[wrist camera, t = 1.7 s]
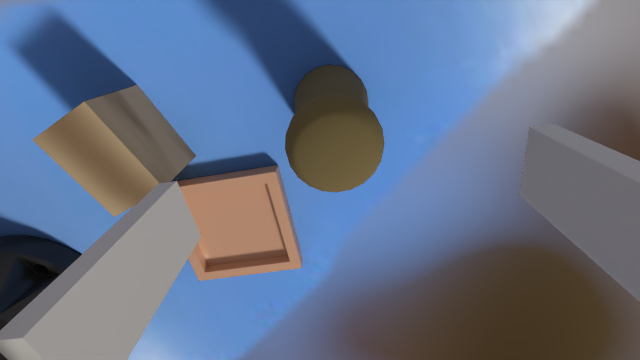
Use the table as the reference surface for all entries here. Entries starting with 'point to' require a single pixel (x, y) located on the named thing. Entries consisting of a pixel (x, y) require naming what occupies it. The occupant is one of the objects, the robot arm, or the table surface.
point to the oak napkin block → (117, 148)
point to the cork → (333, 131)
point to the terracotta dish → (241, 224)
